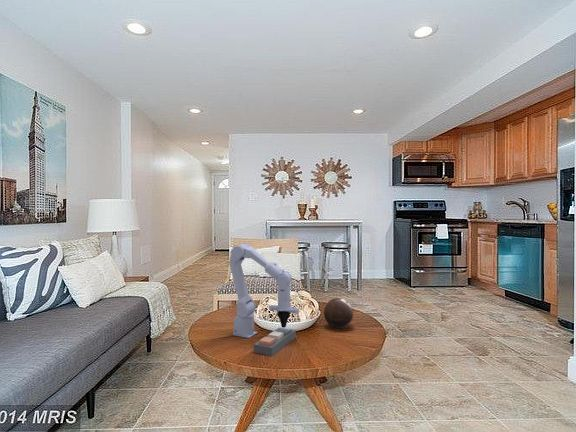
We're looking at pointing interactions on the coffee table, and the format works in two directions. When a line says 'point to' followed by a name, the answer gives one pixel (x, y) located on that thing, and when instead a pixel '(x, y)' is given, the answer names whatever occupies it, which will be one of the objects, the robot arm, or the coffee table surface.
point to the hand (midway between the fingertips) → (283, 326)
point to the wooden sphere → (338, 313)
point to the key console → (275, 344)
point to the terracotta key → (267, 341)
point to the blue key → (284, 330)
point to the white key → (276, 335)
